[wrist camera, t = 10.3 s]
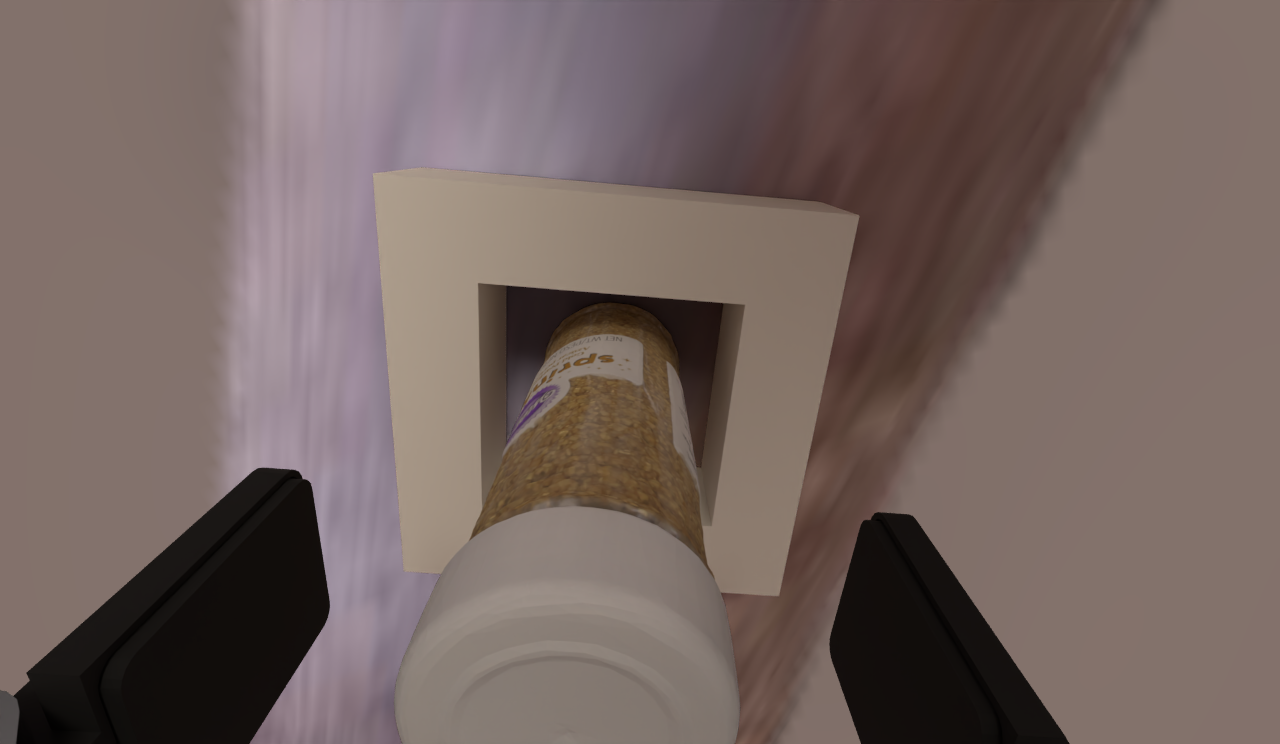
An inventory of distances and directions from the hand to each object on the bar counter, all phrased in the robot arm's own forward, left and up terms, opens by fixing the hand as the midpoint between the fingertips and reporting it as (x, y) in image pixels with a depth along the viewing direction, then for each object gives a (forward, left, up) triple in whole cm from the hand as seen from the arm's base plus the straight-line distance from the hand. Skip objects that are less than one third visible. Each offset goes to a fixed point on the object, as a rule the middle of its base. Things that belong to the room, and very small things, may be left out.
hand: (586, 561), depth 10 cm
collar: (+1, 0, -10) cm, 10 cm away
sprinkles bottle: (0, 0, -11) cm, 11 cm away
